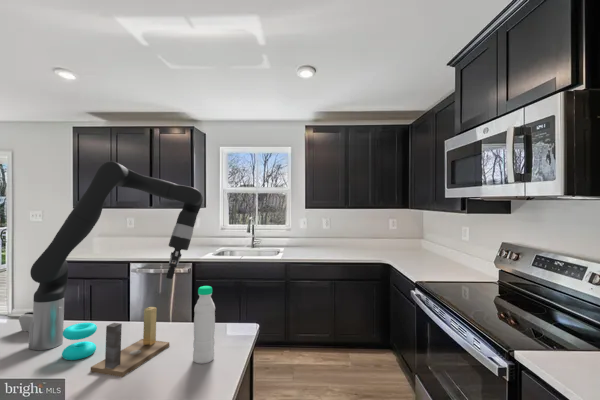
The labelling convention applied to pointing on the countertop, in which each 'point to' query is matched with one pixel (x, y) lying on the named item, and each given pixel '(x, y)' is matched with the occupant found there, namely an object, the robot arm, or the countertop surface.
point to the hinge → (26, 320)
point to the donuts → (79, 348)
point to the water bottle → (204, 326)
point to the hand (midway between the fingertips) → (169, 277)
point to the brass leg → (149, 326)
